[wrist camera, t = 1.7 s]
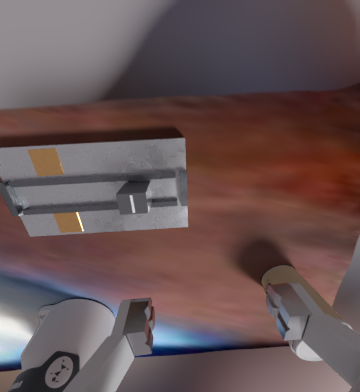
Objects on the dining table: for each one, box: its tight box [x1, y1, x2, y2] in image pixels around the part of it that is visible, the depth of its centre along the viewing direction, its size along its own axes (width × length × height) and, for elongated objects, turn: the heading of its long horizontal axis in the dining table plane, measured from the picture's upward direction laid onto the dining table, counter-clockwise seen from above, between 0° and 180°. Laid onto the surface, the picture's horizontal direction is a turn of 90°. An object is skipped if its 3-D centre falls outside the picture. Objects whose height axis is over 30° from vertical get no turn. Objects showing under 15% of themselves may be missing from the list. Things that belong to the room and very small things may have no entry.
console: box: [0, 137, 188, 237], centre depth 25 cm, size 26×14×3 cm, turn 93°
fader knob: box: [116, 181, 153, 215], centre depth 22 cm, size 4×3×4 cm
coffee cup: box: [262, 265, 352, 361], centre depth 31 cm, size 9×9×12 cm
